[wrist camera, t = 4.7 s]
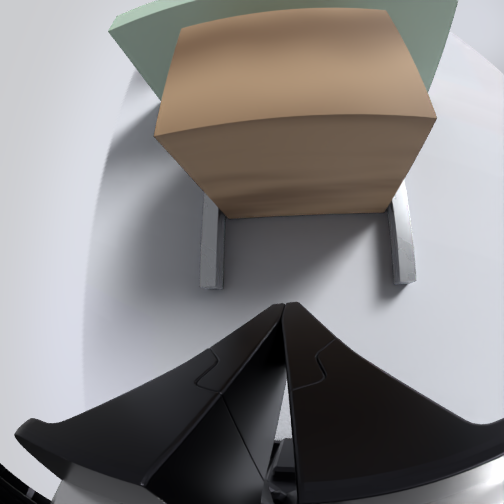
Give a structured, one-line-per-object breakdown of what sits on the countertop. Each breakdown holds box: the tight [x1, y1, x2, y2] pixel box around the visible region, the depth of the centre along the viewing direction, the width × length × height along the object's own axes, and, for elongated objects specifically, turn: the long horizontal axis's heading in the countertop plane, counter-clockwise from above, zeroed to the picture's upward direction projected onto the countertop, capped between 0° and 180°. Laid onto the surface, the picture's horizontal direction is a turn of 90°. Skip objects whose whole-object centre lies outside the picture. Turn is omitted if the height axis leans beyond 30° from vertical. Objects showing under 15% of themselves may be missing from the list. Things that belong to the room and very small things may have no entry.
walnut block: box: [154, 8, 437, 219], centre depth 14 cm, size 7×10×10 cm
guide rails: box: [199, 180, 416, 289], centre depth 19 cm, size 15×13×2 cm
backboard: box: [108, 0, 458, 101], centre depth 16 cm, size 2×22×10 cm, turn 89°
